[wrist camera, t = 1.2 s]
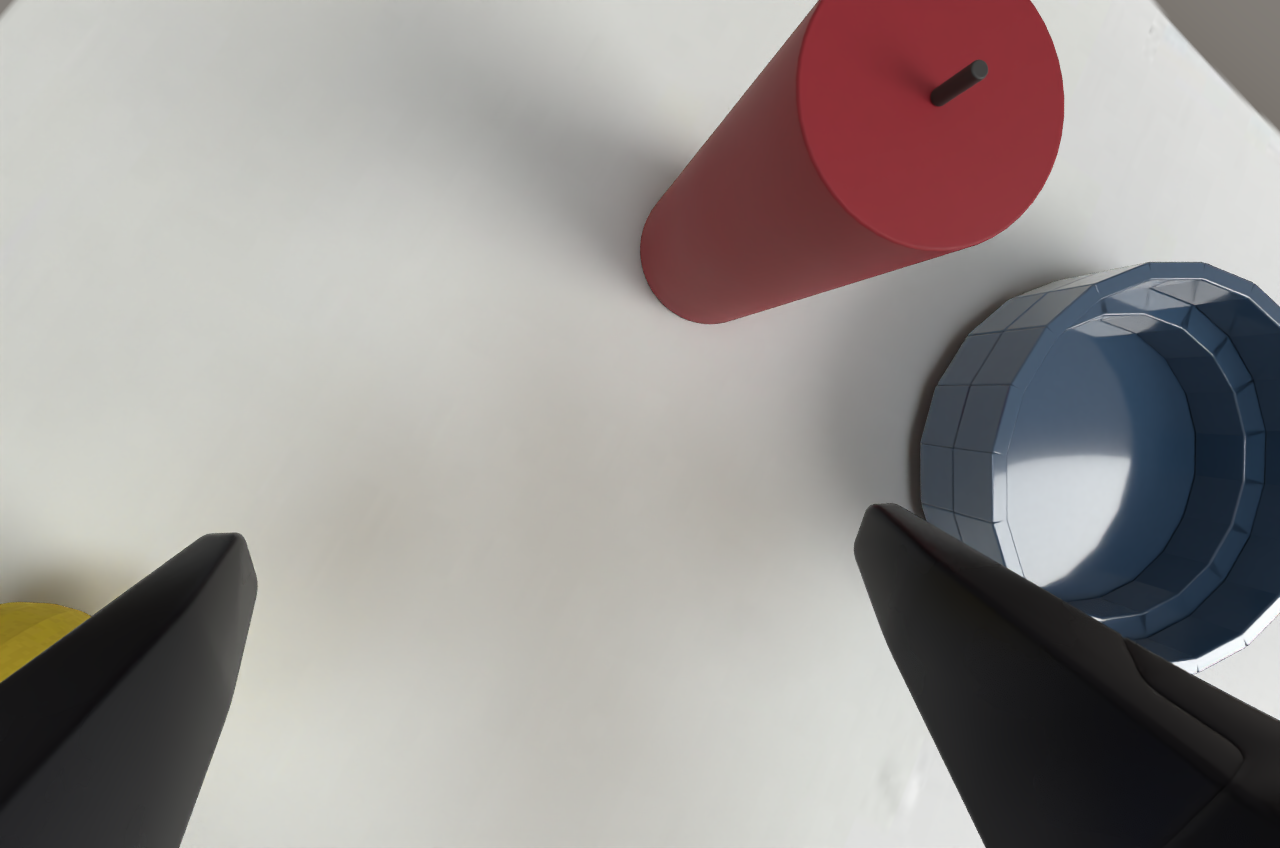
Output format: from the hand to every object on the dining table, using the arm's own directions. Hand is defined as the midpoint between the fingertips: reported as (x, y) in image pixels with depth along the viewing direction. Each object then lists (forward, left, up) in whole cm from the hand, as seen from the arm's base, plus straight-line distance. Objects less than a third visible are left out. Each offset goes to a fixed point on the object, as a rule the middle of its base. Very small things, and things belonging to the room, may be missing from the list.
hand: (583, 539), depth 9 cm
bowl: (-8, -19, -13) cm, 25 cm away
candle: (+4, -8, -13) cm, 16 cm away
